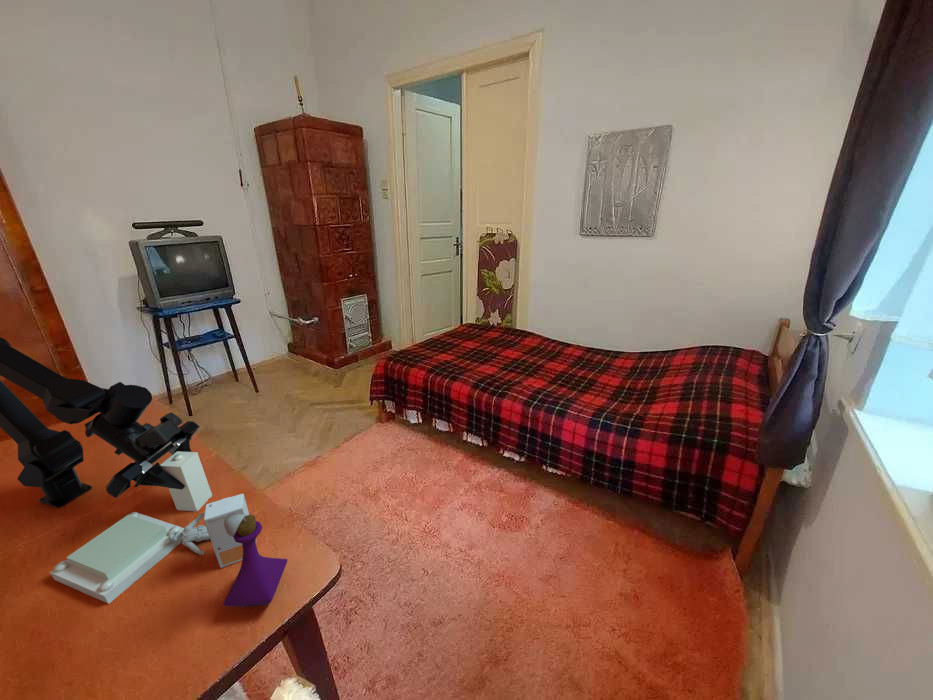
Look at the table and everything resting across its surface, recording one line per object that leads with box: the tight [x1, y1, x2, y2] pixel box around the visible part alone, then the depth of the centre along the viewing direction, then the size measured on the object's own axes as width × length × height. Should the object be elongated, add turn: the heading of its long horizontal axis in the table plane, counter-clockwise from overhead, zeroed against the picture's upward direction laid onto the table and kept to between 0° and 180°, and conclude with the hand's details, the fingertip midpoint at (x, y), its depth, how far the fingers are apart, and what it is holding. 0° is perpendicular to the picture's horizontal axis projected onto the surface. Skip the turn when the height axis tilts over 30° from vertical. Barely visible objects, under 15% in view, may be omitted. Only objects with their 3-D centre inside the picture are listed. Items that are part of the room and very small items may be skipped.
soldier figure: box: [169, 510, 210, 556], centre depth 73 cm, size 8×5×12 cm
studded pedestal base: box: [49, 511, 185, 605], centre depth 70 cm, size 14×14×4 cm
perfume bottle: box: [222, 513, 288, 608], centre depth 61 cm, size 8×8×18 cm
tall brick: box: [160, 451, 213, 512], centre depth 80 cm, size 5×5×13 cm
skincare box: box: [203, 493, 250, 569], centre depth 69 cm, size 6×4×12 cm
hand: (192, 479), depth 80 cm, fingers closed on tall brick, 5 cm apart
